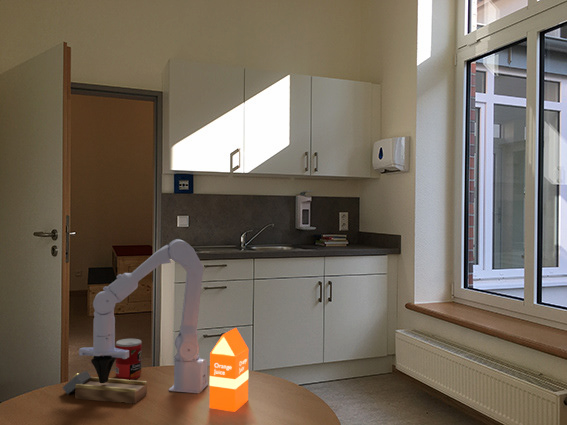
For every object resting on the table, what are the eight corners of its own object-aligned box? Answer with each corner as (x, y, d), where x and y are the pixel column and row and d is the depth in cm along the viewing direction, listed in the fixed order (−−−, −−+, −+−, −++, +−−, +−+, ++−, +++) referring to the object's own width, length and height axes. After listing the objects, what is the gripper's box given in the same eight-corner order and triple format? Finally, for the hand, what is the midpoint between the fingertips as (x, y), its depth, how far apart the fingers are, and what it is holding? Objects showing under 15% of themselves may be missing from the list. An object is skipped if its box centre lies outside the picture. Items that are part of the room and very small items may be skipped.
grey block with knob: (91, 377, 143) (85, 368, 144) (81, 382, 139) (74, 373, 139) (77, 389, 144) (71, 380, 145) (67, 394, 140) (60, 385, 141)
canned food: (134, 381, 152) (134, 345, 152) (110, 379, 154) (110, 343, 154) (145, 373, 160) (146, 339, 160) (123, 371, 161) (123, 337, 161)
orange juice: (248, 400, 137) (249, 328, 137) (235, 412, 129) (236, 335, 129) (223, 396, 140) (223, 326, 140) (208, 408, 132) (209, 333, 132)
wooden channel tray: (146, 394, 141) (146, 381, 141) (134, 403, 134) (134, 389, 134) (89, 389, 144) (89, 376, 144) (75, 398, 137) (75, 384, 137)
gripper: (72, 336, 137) (72, 384, 137) (120, 339, 134) (119, 388, 134) (87, 330, 144) (87, 376, 144) (133, 333, 141) (132, 380, 141)
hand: (103, 382), depth 140 cm, fingers closed
